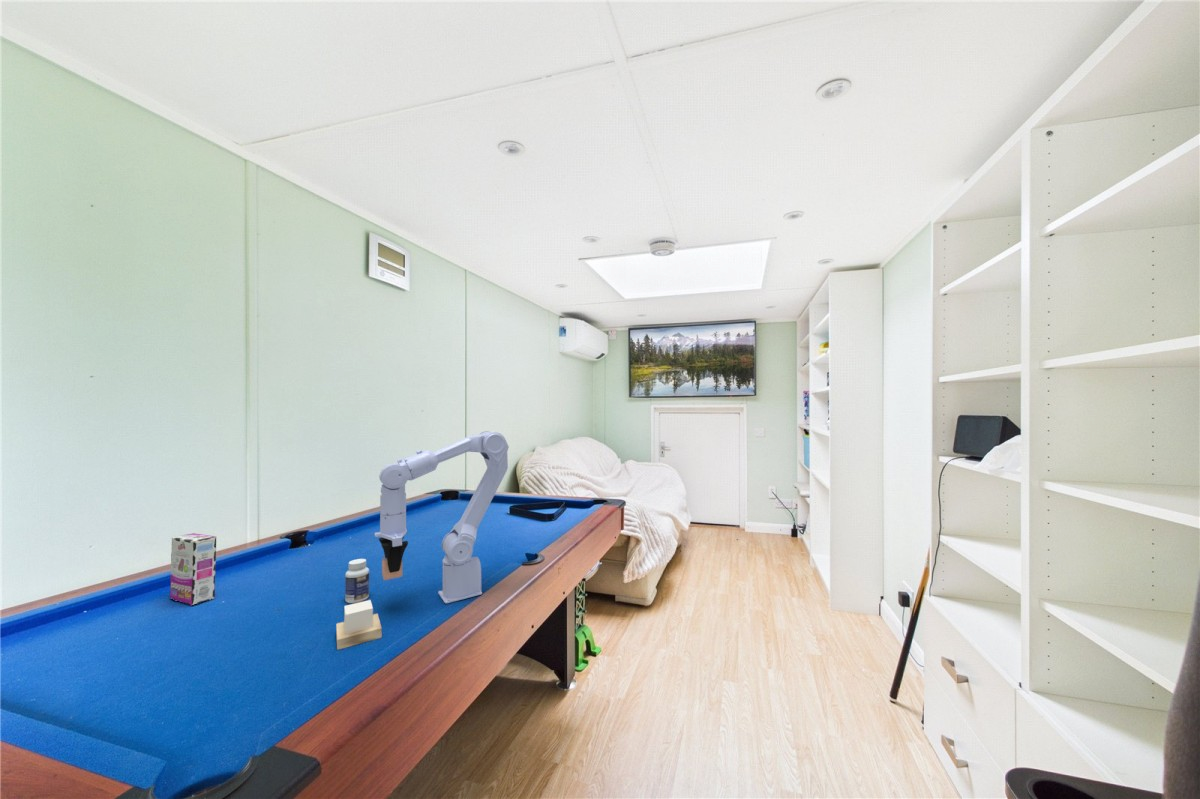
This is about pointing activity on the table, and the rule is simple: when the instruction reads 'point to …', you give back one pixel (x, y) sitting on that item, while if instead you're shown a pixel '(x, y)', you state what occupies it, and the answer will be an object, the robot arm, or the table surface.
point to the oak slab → (358, 634)
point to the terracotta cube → (387, 574)
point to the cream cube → (358, 616)
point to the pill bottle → (357, 581)
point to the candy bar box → (193, 568)
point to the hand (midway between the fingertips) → (393, 568)
